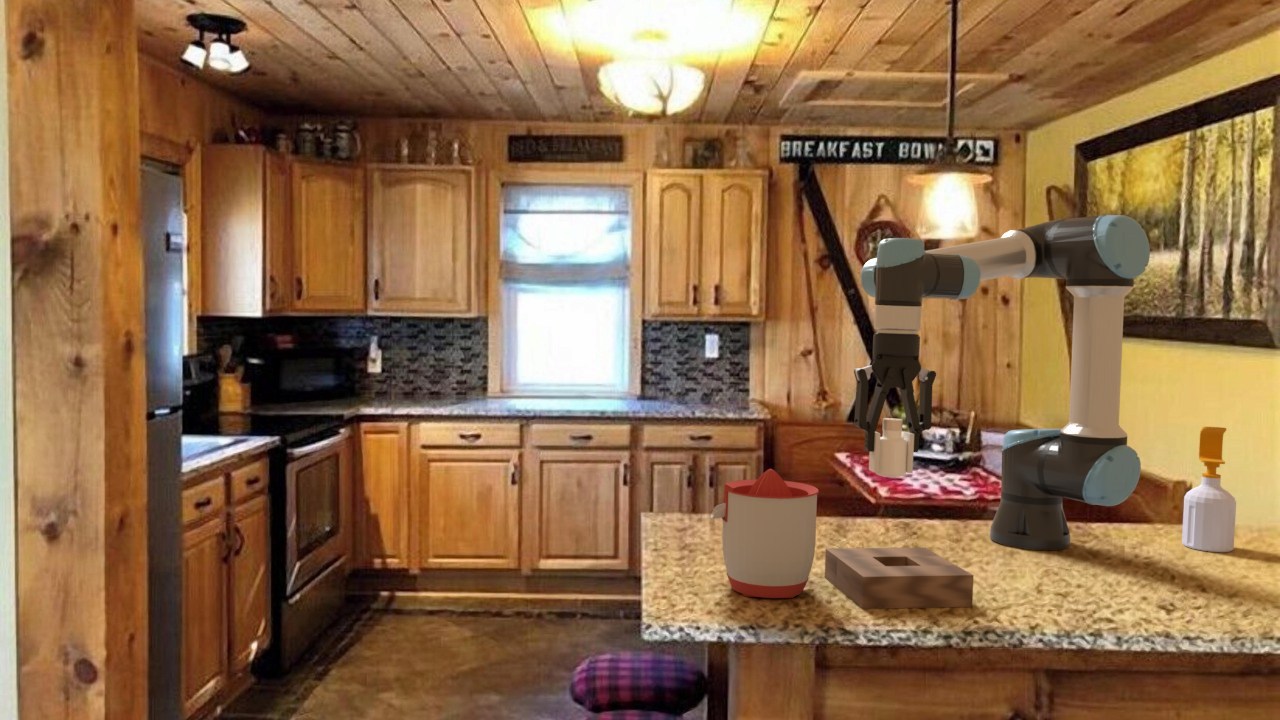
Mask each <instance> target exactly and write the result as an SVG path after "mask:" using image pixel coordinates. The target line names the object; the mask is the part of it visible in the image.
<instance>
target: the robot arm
mask: <svg viewBox="0 0 1280 720" xmlns="http://www.w3.org/2000/svg"><path fill="white" fill-rule="evenodd" d="M876 253H877V254H876V257H875V258H870V259H869V260H868V261H867V262H865V264H864V265H863V267H862V269H861V272H860V283H861V287H862V289H863V291H864V292H865V294H867V295H868V296H869V297H872V298H875V299H874V319H873V328H874V330H877V332H874V334H873V339H872V358H871V361H870V363H869V365H868V366H863V367H861V368H859V367H856V368H854V370H853V374H854V377H855V381H856V388H855V405H854V406H855V407H854V419H853V420H854V422H853V424H854V426H855V427H857V428H859V429H861V430H863V431H864V450H865V451H866V452H869V453H868V454H869V455H868V456H869V457H868V470H869V471H871V472H873V473H875V472H879V455H880V437H881V433H880V432H878V431H877V429H878V425H879V422H880V418H881V415H882V411H883V409H884V405H885V401H886V400H887V399H886V398H887V396H888V394H889V392H890V389H894V388H895V389H896V388H897V389H898V390H899V393H900V396H901V401H902V405H903V410H904V413H905V419H906V424H907V428H908V431H903V439H905V440H906V441H907V459H906V473H907V474H913V471H914V453H918V452H919V448H920V434H922V433H923V432H924V431H926V430H927V431H928V430H930V429H931V428H932V416H933V415H932V414H933V385H934V382H935V380H936V377H937V372H936V371H934V370H932V369H931V370H930V369H926V368H924V367H922V365H921V363H920V360H919V359H920V345H921V344H920V343H921V336H920V334H917V333H918V331H920V330H922V329H921V328H922V327H921V326H922V325H921V324H922V323H921V322H922V305H923V303H922V302H923V299H940V300H941V299H945V300H946V299H947V300H954V301H956V300H965V299H968V298H970V297H973V296H974V294H976V292H977V291H978V290H979V286H980V284H981V282H983V281H988V280H989V281H990V280H993V279H994V280H995V279H999V278H1005V277H1008V278H1010V279H1013V280H1023V279H1028V278H1030V279H1031V278H1035V279H1036V278H1038V279H1039V278H1040V279H1043V278H1044V279H1060V280H1061V279H1064V280H1065V289H1066V290H1067V291H1068V292H1069V293H1070V294H1071V295H1072V296H1073V317H1072V339H1071V341H1072V342H1071V343H1072V344H1071V364H1070V365H1071V368H1070V369H1071V371H1070V392H1069V393H1070V394H1069V395H1070V396H1069V421H1068V423H1067V424H1066V425H1065V426H1063V427H1062V428H1032V429H1030V428H1029V429H1028V428H1027V429H1011V430H1009V431H1007V432H1006V433H1005V435H1004V436H1003V443H1002V445H1003V446H1002V449H1001V477H1000V478H1001V480H1000V481H1001V483H1000V490H1001V491H1000V502H999V505H998V507H997V509H996V513H995V515H994V517H993V520H992V523H991V526H990V529H989V530H990V531H989V532H990V533H989V538H990V540H991V541H993V542H995V543H997V544H1000V545H1004V546H1007V547H1008V546H1009V547H1014V548H1018V549H1026V550H1035V551H1036V550H1037V551H1054V550H1055V551H1057V550H1065V549H1069V547H1070V546H1071V532H1070V529H1069V526H1068V522H1067V519H1066V516H1065V512H1064V508H1063V498H1065V499H1069V500H1075V501H1078V502H1083V503H1086V504H1089V505H1092V506H1095V505H1098V506H1103V507H1104V506H1105V507H1113V506H1117V505H1120V504H1121V503H1123V502H1125V501H1126V500H1127V499H1128V498H1129V497H1130V495H1131V494H1132V493H1134V491H1135V489H1136V487H1137V485H1138V482H1139V480H1140V475H1141V471H1142V470H1141V469H1142V467H1141V466H1142V464H1141V463H1142V462H1141V458H1140V457H1139V455H1138V452H1137V451H1136V450H1135V449H1134V448H1132V447H1130V446H1129V445H1128V433H1127V432H1126V431H1125V430H1124V429H1123V428H1122V427H1121V425H1120V411H1121V410H1120V409H1121V407H1120V405H1121V383H1122V382H1121V381H1122V359H1123V357H1122V356H1123V355H1122V354H1123V333H1124V312H1125V311H1124V309H1125V308H1124V307H1125V297H1126V296H1127V295H1128V294H1129V293H1130V292H1132V290H1134V287H1135V286H1134V284H1135V281H1134V280H1135V279H1136V278H1138V277H1139V276H1141V275H1142V274H1144V273H1145V271H1146V267H1148V265H1149V262H1150V257H1151V250H1150V242H1149V238H1148V236H1147V234H1146V231H1145V230H1144V228H1142V227H1141V224H1140V223H1139V222H1138V221H1137V220H1136V219H1134V218H1132V217H1130V216H1128V215H1124V214H1123V215H1122V214H1121V215H1119V214H1116V215H1115V214H1102V215H1095V216H1093V215H1092V216H1083V217H1072V218H1071V217H1070V218H1061V219H1060V218H1059V219H1058V218H1057V219H1054V220H1049V221H1046V222H1042V223H1041V222H1040V223H1039V224H1035V225H1031V226H1026V227H1022V228H1019V229H1013V230H1009V231H1007V232H1005V233H1004V234H1002V236H1001V237H998V238H992V239H986V240H981V241H980V240H979V241H975V242H968V243H963V244H958V245H950V246H946V247H945V246H944V247H940V248H934V249H928V250H927V249H926V250H925V243H924V241H923V240H922V239H918V238H909V237H908V238H907V237H895V238H893V237H892V238H884V239H882V240H880V241H879V243H878V246H877V251H876ZM871 374H872V375H873V377H874V378H875V379H876V383H875V387H874V394H873V398H872V401H871V404H870V407H869V410H868V400H869V399H868V397H869V396H868V395H869V380H870V379H871ZM917 376H919V377H918V380H919V381H920V382H919V399H918V400H919V401H918V405H919V406H918V407H919V409H918V410H917V405H916V399H915V395H914V393H915V389H914V384H913V382H914V380H916V378H917ZM867 412H868V414H867Z"/></svg>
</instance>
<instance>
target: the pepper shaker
mask: <svg viewBox="0 0 1280 720" xmlns="http://www.w3.org/2000/svg"><path fill="white" fill-rule="evenodd" d="M903 422H904V421H903V419H901V418H892V417H884V418H882V427H881V428H882V436H880V455H879V472H874V474H876V476H881V477H885V478H886V477H887V478H898V477H904V476H906V473H907V472H906V459H907V441H906V440H905V439H904V437H902V431H903Z"/></svg>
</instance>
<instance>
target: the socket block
mask: <svg viewBox="0 0 1280 720" xmlns="http://www.w3.org/2000/svg"><path fill="white" fill-rule="evenodd" d="M824 555H825V557H824V558H825V559H824V560H825V562H824V564H825V565H824V578H825V579H826V580H827V581H828V582H830V583H831V584H832V585H833V586H834V587H835V588H837V589H838V590H839V591H840V592H841V593H843V594H844V595H845V596H846V597H848V599H850V600H851V601H852V602H854V604H856V605H857V606H858V607H860V608H861V609H862V610H863V609H865V610H867V609H869V610H871V609H874V610H875V609H913V608H915V609H919V608H920V609H922V608H925V609H927V608H969V607H970V608H971V607H972V608H973V600H974V599H973V597H974V574H972V573H971V572H969V571H967V570H965V569H963V568H961V566H958V565H957V564H955V563H953V562H951V561H949V560H948V559H946V558H945V557H943V556H942V555H939V554H937V553H936V552H935V551H932V550H930V549H929V548H928V547H863V548H861V547H860V548H858V547H854V548H853V547H851V548H850V547H847V548H844V547H842V548H840V547H839V548H833V547H832V548H831V547H830V548H825V554H824Z"/></svg>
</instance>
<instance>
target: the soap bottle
mask: <svg viewBox="0 0 1280 720" xmlns="http://www.w3.org/2000/svg"><path fill="white" fill-rule="evenodd" d="M1226 432H1227V428H1226V427H1220V426H1203V427H1202V428H1201V430H1200V432H1199V445H1198V446H1199V447H1198V450H1199V451H1198V460H1199V461H1200V462H1201V463H1203V466H1204V467H1206V472H1203V473H1201V482H1200V484H1199V485H1198V486H1196V487H1193V488H1191V489H1190V490H1188V491H1186V493H1185V495H1184V497H1183V515H1182V530H1181V531H1182V535H1181V543H1182V545H1183V546H1185V547H1186V548H1188V549H1191V550H1192V549H1193V550H1195V549H1196V551H1202V552H1207V551H1208V552H1209V553H1230V552H1232V551H1233V550H1234V548H1235V547H1234V546H1235V532H1236V531H1235V530H1236V512H1237V500H1236V498H1235V497H1234V496H1233V495H1232V494H1231V493H1230V492H1229V491H1228V490H1226V489H1224V488H1223V487H1222V485H1221V483H1222V482H1221V480H1222V479H1221V476H1222V475H1221V474H1219V473H1217V468H1220V465H1225V464H1226V462H1225V460H1223V444H1224V443H1223V442H1224V440H1223V439H1224V434H1225V433H1226Z"/></svg>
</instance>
